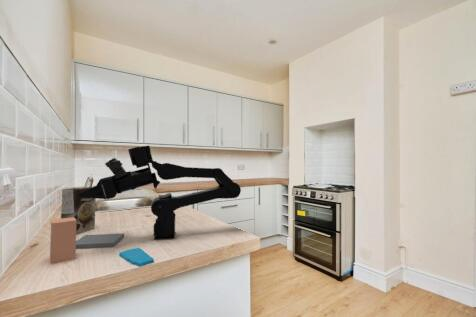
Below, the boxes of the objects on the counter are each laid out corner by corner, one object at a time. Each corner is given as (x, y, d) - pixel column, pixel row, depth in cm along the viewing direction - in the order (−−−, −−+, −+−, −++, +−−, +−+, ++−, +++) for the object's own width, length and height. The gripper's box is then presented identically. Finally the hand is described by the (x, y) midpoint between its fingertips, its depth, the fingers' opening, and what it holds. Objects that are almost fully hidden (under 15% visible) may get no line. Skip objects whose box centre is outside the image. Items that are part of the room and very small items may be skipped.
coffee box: (74, 235, 80) (76, 189, 81) (59, 234, 81) (61, 188, 82) (95, 228, 89) (96, 187, 90) (81, 227, 90) (82, 186, 91)
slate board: (124, 236, 79) (124, 233, 79) (113, 246, 69) (113, 242, 69) (85, 238, 77) (85, 234, 77) (69, 249, 67) (69, 245, 67)
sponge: (130, 266, 54) (154, 257, 58) (117, 252, 63) (139, 245, 67) (131, 273, 54) (155, 263, 58) (118, 257, 63) (139, 250, 67)
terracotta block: (73, 253, 64) (74, 217, 64) (75, 258, 60) (76, 220, 60) (49, 258, 60) (51, 219, 61) (50, 264, 57) (52, 223, 57)
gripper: (131, 157, 84) (83, 168, 79) (126, 154, 67) (64, 169, 62) (140, 185, 85) (93, 199, 80) (137, 190, 68) (77, 208, 62)
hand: (83, 193), depth 71 cm, fingers open, 9 cm apart
